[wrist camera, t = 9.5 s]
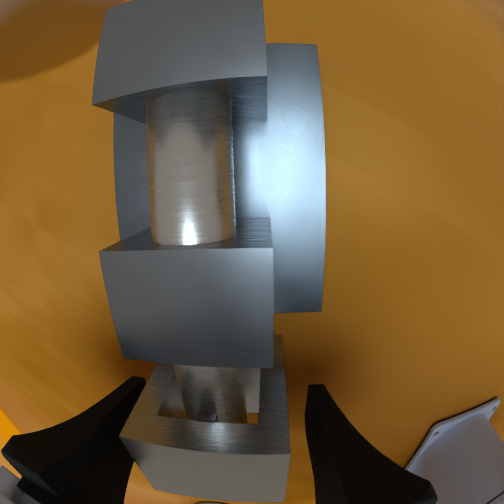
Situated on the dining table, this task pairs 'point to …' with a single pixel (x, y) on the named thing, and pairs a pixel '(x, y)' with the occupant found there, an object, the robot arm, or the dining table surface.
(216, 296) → the shaft stand
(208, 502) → the supplement bottle
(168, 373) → the collar
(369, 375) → the dining table surface
